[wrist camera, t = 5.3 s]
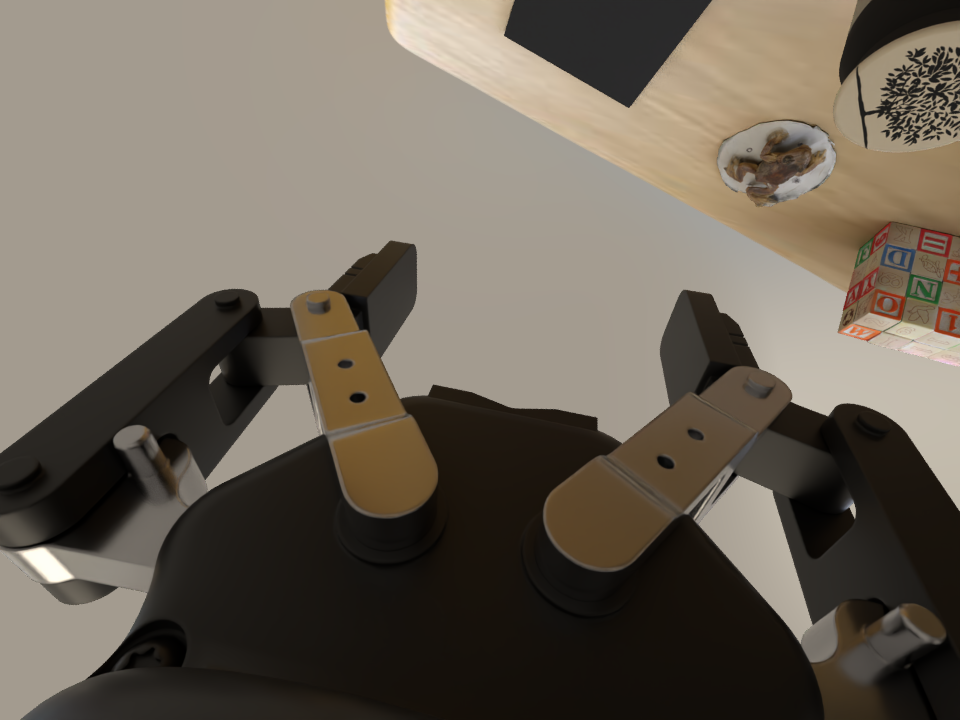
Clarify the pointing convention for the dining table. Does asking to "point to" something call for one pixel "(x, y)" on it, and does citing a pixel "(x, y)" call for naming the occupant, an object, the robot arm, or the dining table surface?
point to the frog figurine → (776, 161)
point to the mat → (604, 38)
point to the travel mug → (901, 75)
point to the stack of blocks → (907, 293)
